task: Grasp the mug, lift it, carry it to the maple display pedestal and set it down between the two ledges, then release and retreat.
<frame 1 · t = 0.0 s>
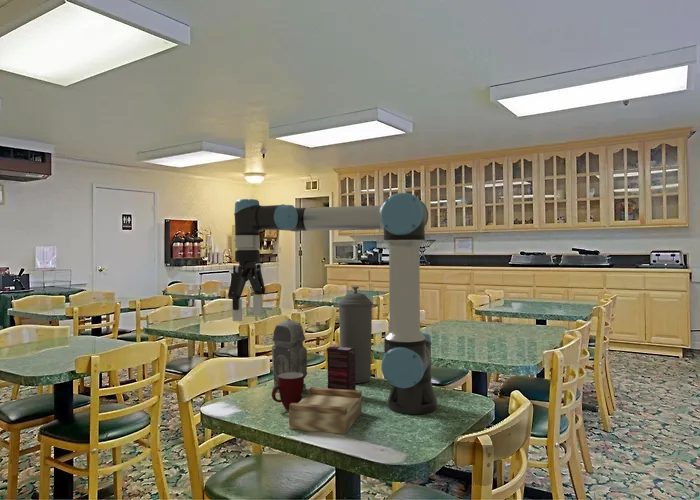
hand: (247, 317, 156), 28 cm above the table, fingers open, 13 cm apart
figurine: (290, 390, 176), on the table
supplement box: (341, 395, 170), on the table
pedestal: (327, 420, 145), on the table
canister: (356, 380, 188), on the table
mug: (287, 409, 155), on the table
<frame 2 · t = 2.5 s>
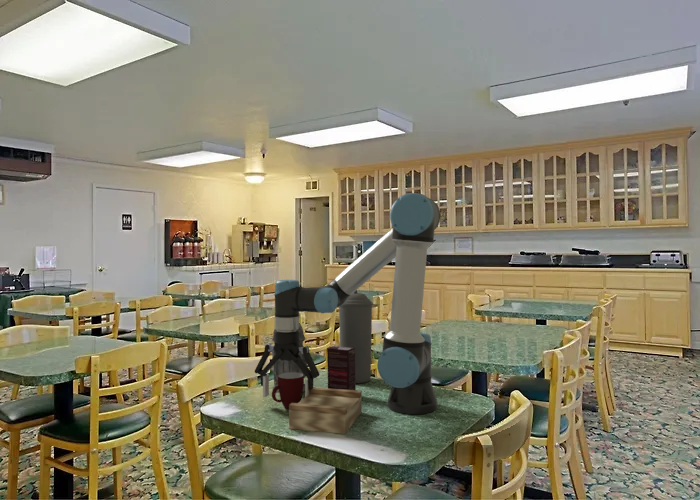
hand: (286, 398, 156), 3 cm above the table, fingers open, 13 cm apart
nothing on the table moved.
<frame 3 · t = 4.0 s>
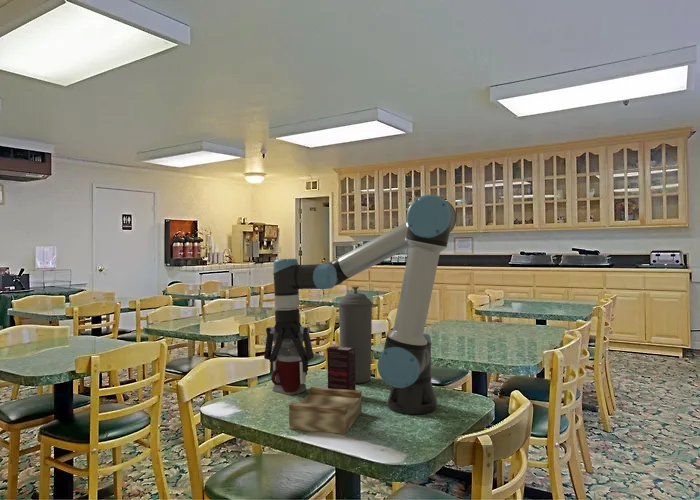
hand: (289, 382, 155), 8 cm above the table, fingers closed on mug, 8 cm apart
mug: (287, 392, 155), point 5 cm above the table, touching gripper
everything else where it was.
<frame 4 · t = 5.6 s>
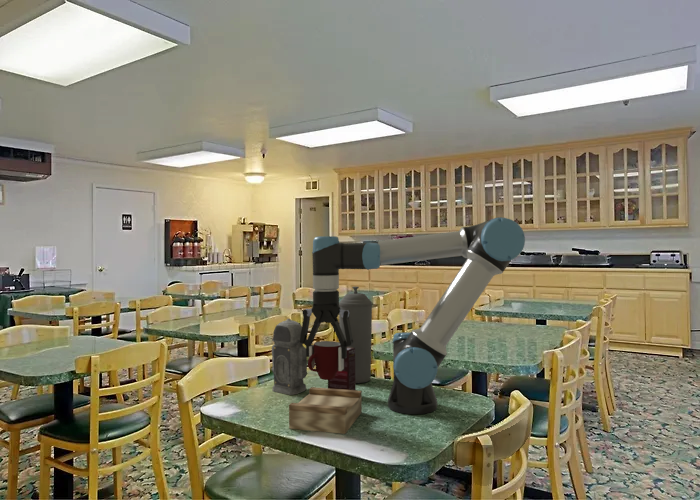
hand: (326, 368, 145), 15 cm above the table, fingers closed on mug, 8 cm apart
mug: (323, 379, 145), point 12 cm above the table, touching gripper
everything else where it was.
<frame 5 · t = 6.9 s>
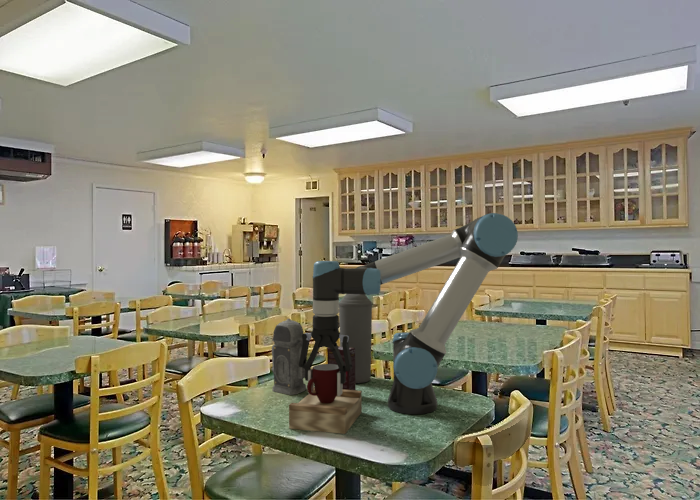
hand: (325, 393, 145), 8 cm above the table, fingers closed on mug, 8 cm apart
mug: (323, 403, 145), point 5 cm above the table, touching gripper, pedestal
everything else where it was.
when the fingers open (8 cm above the table, at t = 7.3 s): mug stays where it is, resting on pedestal.
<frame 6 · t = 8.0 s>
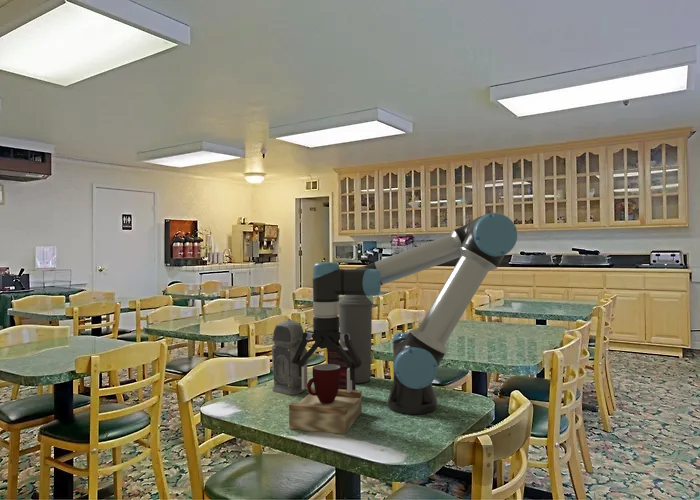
hand: (326, 389, 145), 9 cm above the table, fingers open, 13 cm apart
mug: (323, 403, 145), point 5 cm above the table, touching pedestal
everything else where it was.
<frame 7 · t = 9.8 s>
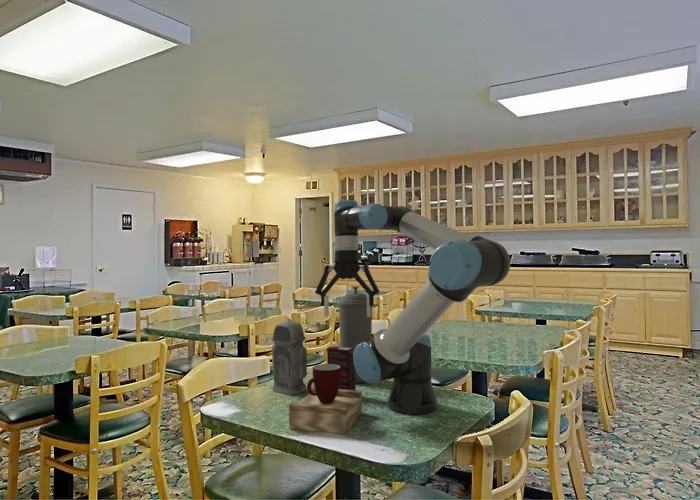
hand: (347, 316, 159), 28 cm above the table, fingers open, 13 cm apart
nothing on the table moved.
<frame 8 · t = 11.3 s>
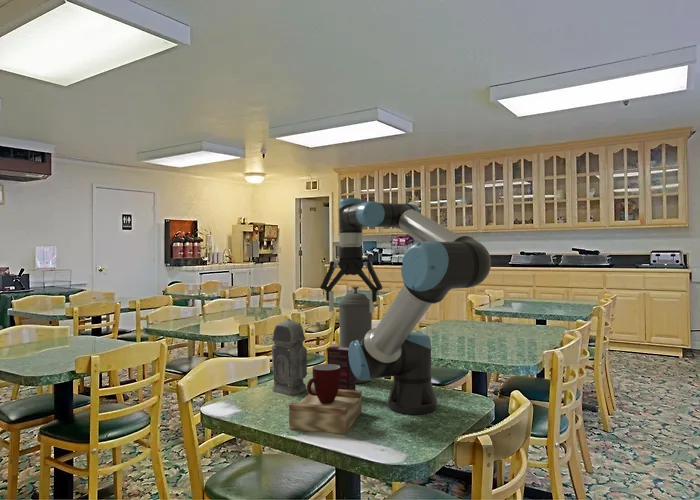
hand: (351, 311, 163), 29 cm above the table, fingers open, 13 cm apart
nothing on the table moved.
at the end: mug inside the target area on the pedestal (1.0 cm from its centre), point 4.8 cm above the pedestal's base; mug tilted 0°; the gripper is holding nothing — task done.
